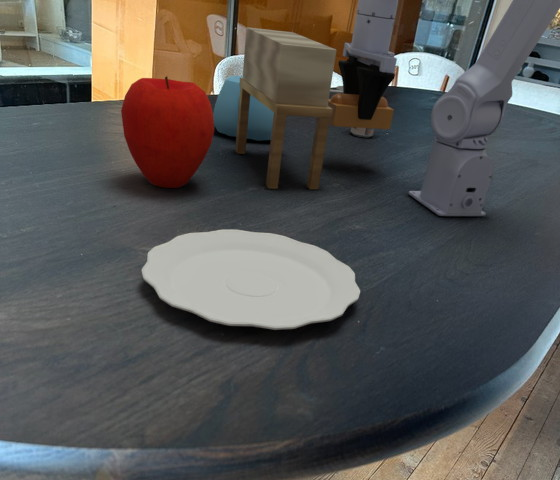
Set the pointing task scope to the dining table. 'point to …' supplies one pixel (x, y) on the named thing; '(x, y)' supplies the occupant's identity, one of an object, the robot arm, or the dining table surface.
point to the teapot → (228, 113)
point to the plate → (250, 279)
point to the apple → (167, 129)
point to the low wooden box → (348, 113)
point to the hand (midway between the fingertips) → (357, 114)
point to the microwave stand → (286, 91)
